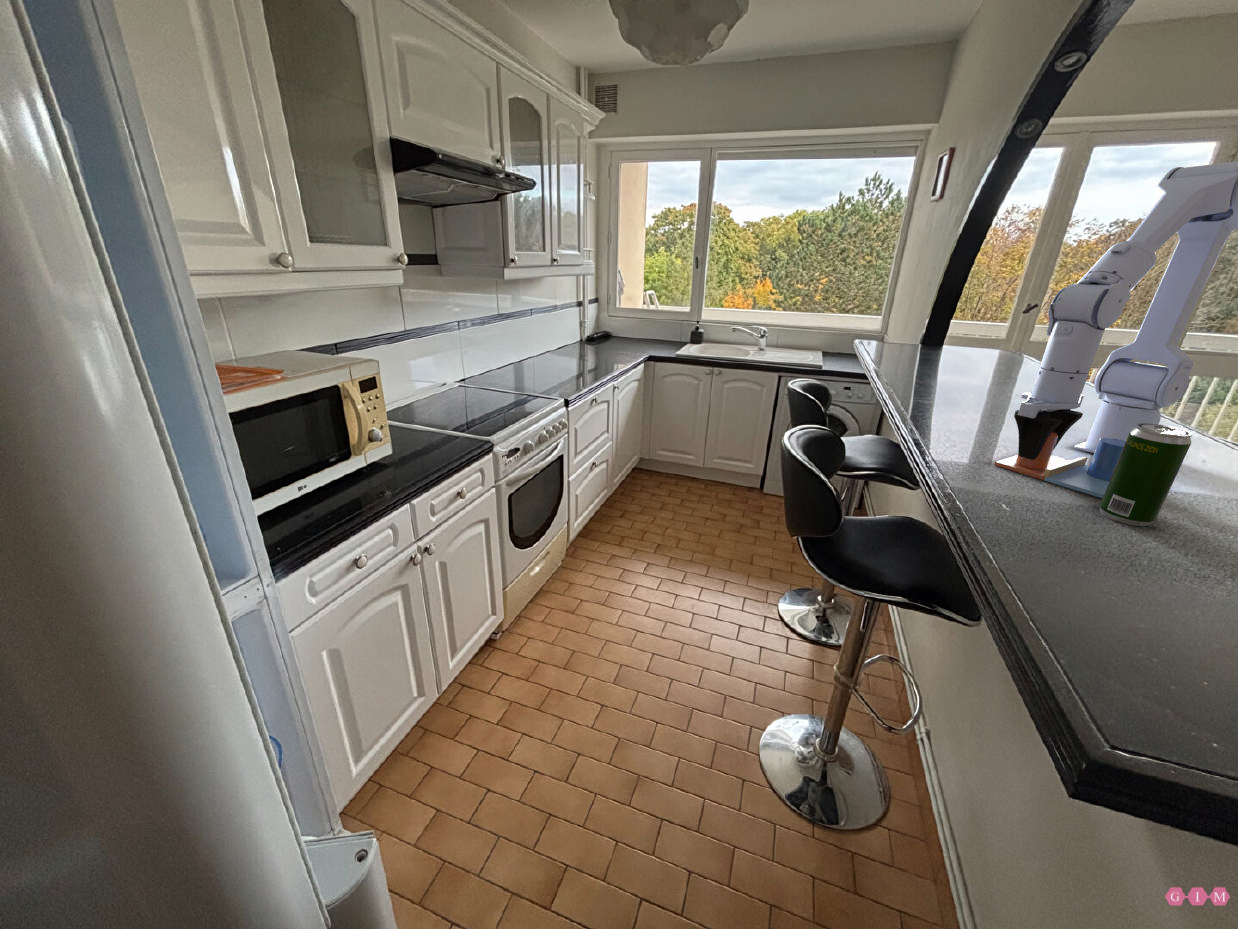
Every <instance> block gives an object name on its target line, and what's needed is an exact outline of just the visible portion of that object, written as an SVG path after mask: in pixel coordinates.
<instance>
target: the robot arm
mask: <svg viewBox="0 0 1238 929" xmlns="http://www.w3.org/2000/svg"><path fill="white" fill-rule="evenodd" d="M1237 230H1238V161H1229V162H1223V163H1222V162H1219V163H1213V164H1205V165H1204V164H1203V165H1196V166H1187V167H1184V166H1177V167H1173V168H1172V169H1170V170H1169V171H1167V172H1166V173H1165V175H1163V176H1162V178H1161V179H1160V180H1159V181H1158V183H1157V185H1156V188H1155V190H1154V193H1153V197H1152V204H1151V209H1150V210H1149V212H1148V213H1147V215H1146V216H1145V217H1144V218H1143V220H1142V221H1141V222H1140V224H1139V225H1138V226H1137V227H1136V229H1135V230H1134V232H1133V233H1132V234H1131V235H1130V237H1129V238H1128V239H1127V240H1126V241H1121V242H1118V243H1115V244H1113V245H1112V246H1110V248H1108V250H1107V251H1106V252H1105V253H1104V254H1103V255H1102V256H1101V257H1100V258H1099V259H1098V260H1097V261H1096V262H1095V264H1094V265H1093V266H1092V267H1091V268H1090V269H1089V270H1088V271H1087V272H1086V273H1085V274H1084V275H1083V276H1082V277H1081V279H1080V280H1079V281H1078V282H1077V283H1071V284H1069V285H1068V286H1066V287H1063V288H1061V289H1060V290H1059V291H1057V293H1056V294H1055V295H1054V298H1053V299H1052V300H1051V303H1049V307H1048V311H1047V317H1048V326H1047V329H1046V336H1048V341H1047V344H1046V347H1045V350H1044V353H1043V356H1042V358H1041V362H1040V364H1039V368H1038V372H1037V375H1036V378H1035V380H1034V384H1033V386H1032V389H1031V392H1022V393H1021V395H1020V398H1021V399H1024V400H1025V401H1022V402H1021V403H1020V407H1019V409H1017V410H1015V411H1014V414H1013V417H1014V419H1015V423H1016V426H1017V432H1018V448H1017V450H1018V451H1017V452H1018V453H1017V455H1018V454H1019V456H1020V457H1024V458H1027V459H1031V460H1035V459H1036V458H1037V456H1038V455H1039V453H1040V452H1041V450H1042V448H1043V446H1044V444H1045V442H1046V440H1047V439H1048V437H1049V436H1050V434H1051V433H1052V432H1055V433H1057V434H1058V438H1057V441H1056V444H1055V446H1054V449H1053V451H1054V450H1055V449H1056V447H1057V446H1058V445H1059V443H1060V441H1061V440H1062V439H1063V437H1064V436H1065V434H1066V433H1067V432H1068V431H1069V430H1070V429H1071V428H1072V426H1074V425H1075V424H1076V423H1077V422H1078V421H1079V420H1081V419H1082V418H1083V415H1084V413H1083V412H1081V411H1077V410H1076V409H1078V408H1081V405H1082V403H1083V401H1084V397H1085V395H1084V394H1083V391H1084V388H1085V386H1086V383H1087V380H1088V377H1089V374H1090V372H1091V369H1092V366H1093V363H1094V361H1095V358H1096V356H1097V352H1098V349H1099V346H1100V344H1101V342H1102V338H1103V337H1104V333H1105V331H1106V329H1107V328H1110V327H1111V326H1113V324H1114V323H1116V322H1117V321H1118V320H1119V318H1120V316H1121V315H1122V313H1123V312H1124V309H1125V307H1126V304H1127V303H1128V302H1129V301H1130V298H1131V291H1132V290H1133V289H1134V288H1135V287H1136V286H1137V285H1138V284H1139V282H1140V281H1142V279H1143V278H1144V277H1146V276H1147V274H1148V273H1149V272H1150V271H1151V269H1153V267H1155V265H1156V264H1157V259H1158V258H1157V257H1158V256H1157V253H1156V252H1157V251H1158V250H1160V248H1161V247H1162V246H1164V245H1165V243H1167V242H1168V241H1169V240H1170V239H1171V238H1172V237H1173V236H1174V235H1175V234H1177V235H1178V239H1179V240H1178V242H1177V245H1176V247H1175V249H1174V251H1173V253H1172V256H1171V259H1170V260H1169V263H1168V265H1167V267H1166V269H1165V271H1164V274H1163V276H1162V278H1161V281H1160V283H1159V285H1158V286H1157V289H1156V292H1155V294H1154V297H1153V298H1152V301H1151V303H1150V305H1149V308H1148V310H1147V312H1146V315H1145V317H1144V318H1143V321H1142V324H1141V327H1139V330H1138V332H1137V335H1136V337H1135V339H1134V341H1133V342H1131V343H1129V344H1126V345H1124V346H1122V347H1119V348H1116V349H1114V350H1112V351H1111V352H1110V354H1109V355H1108V357H1107V359H1106V360H1105V362H1104V364H1103V365H1102V366H1101V367H1100V368H1099V370H1098V372H1097V374H1096V376H1095V378H1094V382H1093V384H1094V385H1093V386H1094V389H1095V393H1096V394H1097V395H1098V397H1097V399H1099V400H1101V401H1100V405H1099V408H1098V410H1097V412H1096V414H1095V418H1094V421H1093V423H1092V426H1091V429H1090V431H1089V434H1088V436H1087V439H1086V441H1085V442H1082V443H1079V444H1075V445H1074V446H1073V448H1074V449H1075V450H1079V451H1080V450H1081V451H1084V452H1088V453H1092V454H1094V452H1095V450H1096V447H1097V445H1098V442H1099V440H1100V439H1101V438H1111V439H1118V440H1123V441H1126V440H1127V438H1128V435H1129V433H1130V431H1131V430H1132V429H1134V428H1135V425H1136V424H1138V423H1149V424H1159V425H1160V422H1161V419H1162V417H1161V411H1160V410H1161V409H1163V408H1167V407H1170V406H1172V405H1174V404H1175V403H1177V402H1178V401H1179V400H1180V399H1181V397H1183V395H1184V394H1185V392H1186V390H1187V388H1188V385H1189V381H1190V375H1191V372H1192V369H1193V367H1194V361H1193V360H1192V358H1191V357H1190V356H1189V355H1188V354H1187V353H1185V351H1183V350H1182V349H1181V348H1180V347H1179V346H1178V344H1179V341H1180V339H1181V337H1182V335H1183V333H1184V331H1185V329H1186V327H1187V324H1188V322H1189V320H1190V318H1191V316H1192V315H1193V314H1192V313H1193V312H1194V310H1195V307H1196V305H1197V303H1198V301H1199V298H1200V297H1201V294H1202V293H1203V290H1204V289H1205V286H1206V284H1207V282H1208V280H1209V278H1210V276H1211V274H1212V271H1213V270H1214V267H1215V265H1216V263H1217V260H1218V258H1219V257H1220V254H1221V252H1222V250H1223V248H1224V247H1225V244H1226V242H1227V241H1228V238H1229V237H1230V235H1231V233H1232V232H1233V231H1237ZM1132 360H1138V361H1145V362H1152V363H1159V364H1162V365H1157V364H1150V363H1143V362H1136V361H1132ZM1163 365H1165V366H1163Z"/></svg>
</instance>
